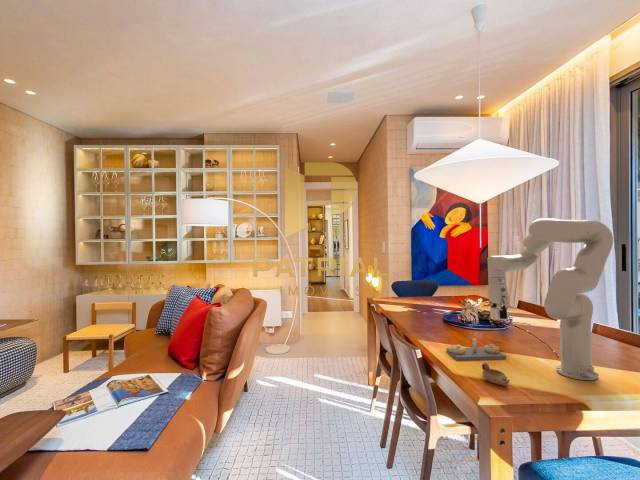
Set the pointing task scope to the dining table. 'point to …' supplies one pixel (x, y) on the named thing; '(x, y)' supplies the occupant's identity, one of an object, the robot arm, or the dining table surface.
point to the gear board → (476, 352)
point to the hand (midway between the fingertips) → (499, 316)
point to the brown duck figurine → (494, 375)
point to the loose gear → (496, 313)
